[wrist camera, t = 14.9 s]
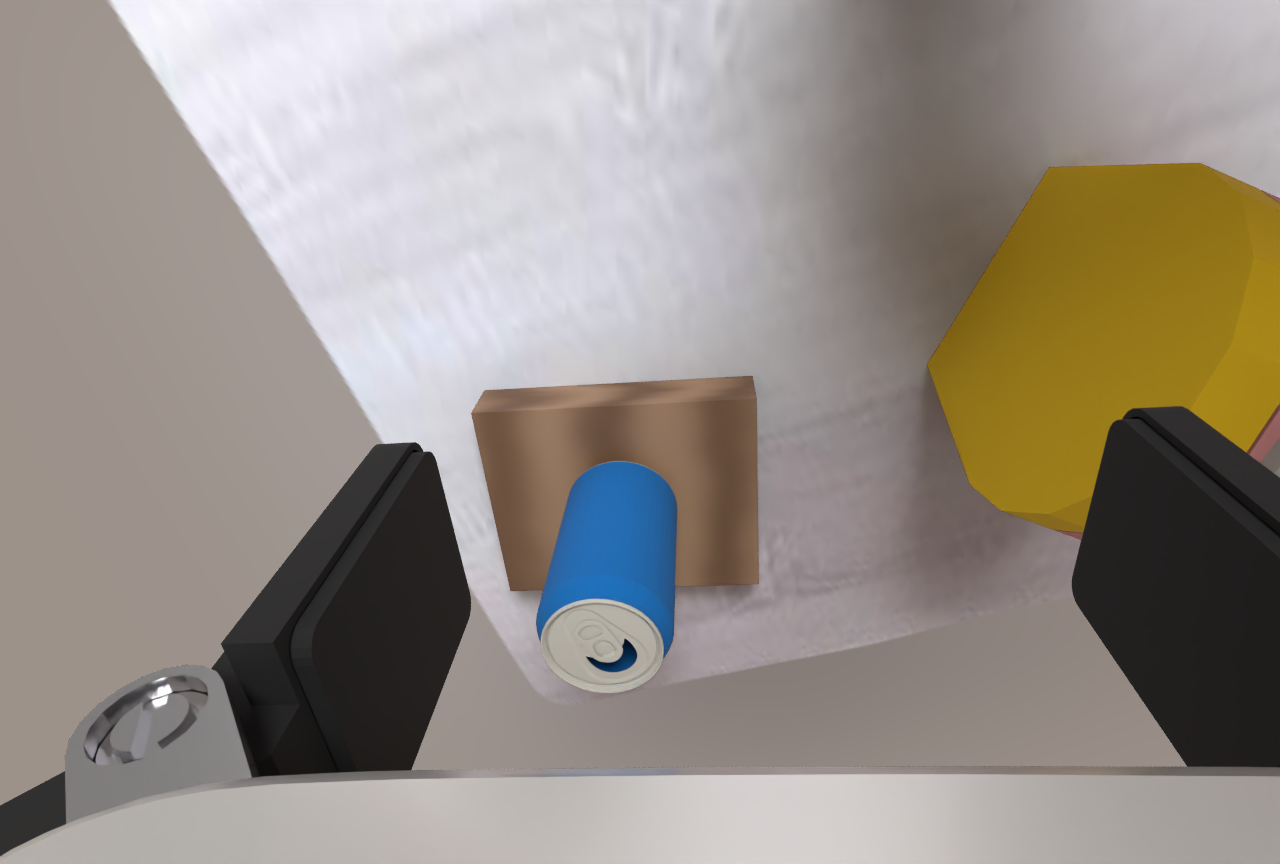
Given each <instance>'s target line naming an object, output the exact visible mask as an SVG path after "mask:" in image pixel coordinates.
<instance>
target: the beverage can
mask: <svg viewBox="0 0 1280 864" xmlns="http://www.w3.org/2000/svg"><path fill="white" fill-rule="evenodd" d="M676 538H677V501H676V498H675V495H674V493H673V491H672V489H671V487H670V486H669V484H668V483H667V482H666V481H665V479H664V478H663V477H661V476H660V475H659V474H658V473H656V472H655V471H653V470H652V469H650V468H648V467H646V466H643V465H641V464H637V463H633V462H627V461H612V462H606V463H602V464H599V465H596V466H594V467H592V468H590V469H589V470H587V471H585V472H584V473H583V474H582V475H581V476H580V477H579V478H578V479H577V480H576V481H575V483H574V484H573V486H572V488H571V490H570V492H569V496H568V500H567V504H566V507H565V511H564V515H563V519H562V522H561V526H560V530H559V534H558V537H557V541H556V545H555V549H554V552H553V556H552V560H551V564H550V567H549V571H548V575H547V579H546V582H545V586H544V590H543V594H542V597H541V601H540V605H539V609H538V613H537V619H536V626H537V633H538V636H539V640H540V644H541V651H542V655H543V657H544V660H545V662H546V663H547V665H548V666H549V668H550V669H551V670H552V671H553V672H554V673H555V674H556V675H557V676H558V677H560V678H561V679H562V680H564V681H565V682H567V683H569V684H571V685H573V686H575V687H577V688H580V689H583V690H587V691H591V692H597V693H618V692H624V691H628V690H631V689H634V688H637V687H639V686H641V685H643V684H644V683H646V682H647V681H649V680H650V679H651V678H652V677H653V676H654V675H655V674H656V672H657V671H658V669H659V668H660V666H661V663H662V660H663V658H664V657H665V656H666V654H667V652H668V651H669V649H670V646H671V644H672V641H673V636H674V608H675V573H676Z"/></svg>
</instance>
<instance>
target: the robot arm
mask: <svg viewBox="0 0 1280 864" xmlns="http://www.w3.org/2000/svg"><path fill="white" fill-rule="evenodd" d="M1072 591H1073V596H1074V598H1075V601H1076V603H1077V605H1078V606H1079V608H1080V610H1081V611H1082V612H1083V614H1084V616H1085V617H1086V618H1087V620H1088V621H1089V623H1090V624H1091V626H1092V627H1093V629H1094V630H1095V632H1096V633H1097V635H1098V636H1099V638H1100V639H1101V640H1102V642H1103V643H1104V645H1105V646H1106V648H1107V649H1108V651H1109V652H1110V654H1111V655H1112V657H1113V658H1114V660H1115V661H1116V662H1117V664H1118V665H1119V667H1120V668H1121V670H1122V671H1123V673H1124V674H1125V676H1126V677H1127V678H1128V680H1129V682H1130V683H1131V684H1132V686H1133V687H1134V689H1135V690H1136V692H1137V693H1138V694H1139V696H1140V698H1141V699H1142V701H1143V702H1144V704H1145V705H1146V706H1147V708H1148V709H1149V711H1150V712H1151V714H1152V715H1153V717H1154V718H1155V720H1156V721H1157V722H1158V724H1159V725H1160V727H1161V728H1162V730H1163V731H1164V733H1165V734H1166V736H1167V737H1168V739H1169V740H1170V742H1171V743H1172V745H1173V746H1174V748H1175V749H1176V750H1177V752H1178V753H1179V755H1180V756H1181V758H1182V759H1183V761H1184V762H1185V764H1186V765H1187V767H1085V766H1080V767H1078V766H1077V767H1076V766H1074V767H1073V766H1067V767H1066V766H1059V767H1058V766H1055V767H1054V766H1052V767H1051V766H1048V767H1047V766H933V767H932V766H907V767H906V766H900V767H899V766H895V767H894V766H891V767H889V766H886V767H671V768H670V767H666V768H665V767H661V768H553V769H552V768H551V769H550V768H549V769H458V770H457V769H456V770H411V769H412V767H413V764H414V761H415V759H416V756H417V753H418V751H419V748H420V746H421V743H422V740H423V738H424V735H425V732H426V730H427V727H428V724H429V722H430V719H431V717H432V714H433V712H434V709H435V706H436V704H437V701H438V698H439V696H440V693H441V691H442V688H443V685H444V683H445V680H446V678H447V675H448V672H449V669H450V667H451V664H452V662H453V659H454V657H455V654H456V651H457V649H458V646H459V644H460V641H461V638H462V635H463V633H464V630H465V628H466V625H467V623H468V620H469V616H470V611H471V597H470V591H469V588H468V584H467V580H466V576H465V572H464V568H463V564H462V560H461V556H460V552H459V548H458V544H457V541H456V537H455V533H454V529H453V525H452V521H451V517H450V513H449V509H448V505H447V501H446V498H445V494H444V490H443V486H442V482H441V478H440V474H439V470H438V466H437V462H436V459H435V457H434V455H433V454H432V453H431V452H423V450H422V448H421V446H420V445H419V444H417V443H416V442H415V443H394V444H378V445H376V446H374V447H373V448H372V450H371V451H370V452H369V454H368V455H367V456H366V457H365V459H364V460H363V461H362V463H361V464H360V465H359V466H358V468H357V469H356V470H355V472H354V473H353V474H352V476H351V477H350V478H349V479H348V481H347V482H346V483H345V484H344V486H343V487H342V488H341V490H340V491H339V492H338V494H337V495H336V496H335V497H334V499H333V500H332V502H330V504H329V505H328V506H327V508H326V509H325V510H324V512H323V513H322V514H321V515H320V517H319V518H318V519H317V521H316V522H315V523H314V525H313V526H312V527H311V528H310V530H309V531H308V532H307V534H306V535H305V536H304V537H303V539H302V540H301V541H300V543H299V544H298V545H297V546H296V548H295V549H294V550H293V552H292V553H291V554H290V555H289V557H288V558H287V559H286V561H285V562H284V563H283V564H282V566H281V567H280V568H279V570H278V571H277V572H276V573H275V575H274V576H273V577H272V579H271V580H270V581H269V582H268V584H267V585H266V586H265V588H264V589H263V590H262V591H261V593H260V594H259V595H258V597H257V598H256V599H255V600H254V602H253V603H252V604H251V606H250V607H249V608H248V610H247V611H246V612H245V613H244V615H243V616H242V618H241V619H240V620H239V621H238V622H237V624H236V625H235V626H234V628H233V629H232V630H231V632H230V633H229V634H228V635H227V637H226V638H225V639H224V640H223V642H222V643H221V645H222V647H223V649H224V653H223V654H222V655H221V657H220V658H219V659H218V661H217V662H216V663H215V665H214V666H213V667H212V669H210V668H208V667H205V666H200V665H181V666H176V667H170V668H165V669H162V670H159V671H156V672H154V673H151V674H148V675H146V676H142V677H140V678H139V679H137V680H135V681H133V682H131V683H129V684H127V685H125V686H124V687H122V688H120V689H118V690H117V691H115V692H114V693H113V694H111V695H110V696H109V697H107V698H106V699H104V700H103V701H102V702H100V703H99V704H98V705H97V706H96V707H95V708H94V709H93V710H92V711H91V712H90V713H89V714H88V715H87V716H86V717H85V718H84V719H83V720H82V721H81V722H80V723H79V725H78V726H77V728H76V730H75V731H74V733H73V734H72V736H71V738H70V739H69V741H68V745H67V749H66V754H65V772H63V773H61V774H59V775H57V776H55V777H53V778H51V779H50V780H48V781H46V782H44V783H42V784H40V785H38V786H36V787H34V788H32V789H31V790H29V791H27V792H25V793H23V794H21V795H19V796H17V797H16V798H14V799H12V800H10V801H8V802H6V803H4V804H2V805H1V806H0V864H1280V477H1278V476H1277V475H1276V474H1274V473H1273V472H1272V471H1270V470H1269V469H1268V468H1266V467H1265V466H1264V465H1262V464H1261V463H1260V462H1258V461H1257V460H1256V459H1254V458H1253V457H1252V456H1250V455H1249V454H1248V453H1246V452H1245V451H1244V450H1242V449H1241V448H1239V447H1238V446H1237V445H1235V444H1234V443H1233V442H1231V441H1230V440H1229V439H1227V438H1226V437H1225V436H1223V435H1222V434H1221V433H1219V432H1218V431H1217V430H1215V429H1214V428H1213V427H1211V426H1210V425H1209V424H1207V423H1206V422H1205V421H1203V420H1202V419H1201V418H1199V417H1198V416H1197V415H1195V414H1194V413H1193V412H1191V411H1190V410H1189V409H1187V408H1185V407H1182V406H1171V407H1150V408H1132V409H1131V410H1129V411H1127V413H1126V414H1125V415H1124V417H1123V419H1122V420H1116V421H1114V422H1113V423H1112V425H1111V426H1110V428H1109V431H1108V435H1107V439H1106V443H1105V447H1104V451H1103V455H1102V459H1101V463H1100V467H1099V471H1098V475H1097V479H1096V483H1095V487H1094V491H1093V495H1092V499H1091V503H1090V508H1089V512H1088V516H1087V520H1086V524H1085V528H1084V532H1083V536H1082V540H1081V544H1080V548H1079V552H1078V556H1077V560H1076V564H1075V568H1074V572H1073V576H1072Z"/></svg>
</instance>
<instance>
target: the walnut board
mask: <svg viewBox="0 0 1280 864" xmlns="http://www.w3.org/2000/svg"><path fill="white" fill-rule="evenodd" d="M471 414H472V419H473V423H474V428H475V432H476V437H477V441H478V446H479V450H480V455H481V459H482V464H483V468H484V473H485V478H486V482H487V487H488V491H489V496H490V500H491V505H492V509H493V514H494V518H495V523H496V527H497V532H498V536H499V541H500V545H501V550H502V554H503V559H504V564H505V568H506V573H507V577H508V582H509V586H510V591H526V590H544V586H545V582H546V579H547V575H548V571H549V567H550V564H551V560H552V556H553V552H554V549H555V545H556V541H557V537H558V534H559V530H560V526H561V522H562V519H563V515H564V511H565V507H566V504H567V500H568V496H569V492H570V490H571V488H572V486H573V484H574V483H575V481H576V480H577V479H578V478H579V477H580V476H581V475H582V474H583V473H584V472H585V471H587V470H589V469H590V468H592V467H594V466H596V465H599V464H602V463H606V462H612V461H627V462H633V463H637V464H641V465H643V466H646V467H648V468H650V469H652V470H653V471H655V472H656V473H658V474H659V475H660V476H661V477H663V478H664V479H665V481H666V482H667V483H668V484H669V486H670V487H671V489H672V491H673V493H674V495H675V498H676V501H677V538H676V573H675V586H711V585H748V584H759V558H758V478H757V399H756V393H755V388H754V382H753V377H752V376H744V377H725V378H707V379H689V380H670V381H652V382H633V383H615V384H596V385H578V386H559V387H541V388H523V389H504V390H486V391H484V392H483V394H482V396H481V397H480V399H479V401H478V403H477V404H476V406H475V408H474V409H473V411H472V413H471Z"/></svg>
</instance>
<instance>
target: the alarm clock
mask: <svg viewBox="0 0 1280 864" xmlns="http://www.w3.org/2000/svg"><path fill="white" fill-rule="evenodd" d="M927 366H928V368H929V371H930V374H931V377H932V380H933V382H934V385H935V388H936V391H937V394H938V396H939V399H940V402H941V405H942V408H943V411H944V413H945V416H946V419H947V422H948V425H949V427H950V430H951V433H952V436H953V439H954V441H955V444H956V447H957V450H958V453H959V456H960V458H961V461H962V464H963V467H964V470H965V472H966V475H967V478H968V481H969V484H970V485H971V486H972V487H974V488H975V489H976V490H977V491H978V492H979V493H981V494H982V495H983V496H984V497H985V498H986V499H988V500H989V501H990V502H991V503H992V504H993V505H995V506H996V507H997V508H998V509H999V510H1001V511H1003V512H1006V513H1009V514H1012V515H1014V516H1017V517H1020V518H1023V519H1025V520H1028V521H1031V522H1034V523H1036V524H1039V525H1042V526H1045V527H1047V528H1050V529H1053V530H1056V531H1058V532H1061V533H1064V534H1067V535H1069V536H1072V537H1075V538H1078V539H1080V540H1082V536H1083V532H1084V528H1085V524H1086V520H1087V516H1088V512H1089V508H1090V503H1091V499H1092V495H1093V491H1094V487H1095V483H1096V479H1097V475H1098V471H1099V467H1100V463H1101V459H1102V455H1103V451H1104V447H1105V443H1106V439H1107V435H1108V431H1109V428H1110V426H1111V425H1112V423H1113V422H1114V421H1116V420H1122V419H1123V417H1124V415H1125V414H1126V413H1127V411H1129V410H1131V409H1132V408H1150V407H1171V406H1182V407H1185V408H1187V409H1189V410H1190V411H1191V412H1193V413H1194V414H1195V415H1197V416H1198V417H1199V418H1201V419H1202V420H1203V421H1205V422H1206V423H1207V424H1209V425H1210V426H1211V427H1213V428H1214V429H1215V430H1217V431H1218V432H1219V433H1221V434H1222V435H1223V436H1225V437H1226V438H1227V439H1229V440H1230V441H1231V442H1233V443H1234V444H1235V445H1237V446H1238V447H1239V448H1241V449H1242V450H1244V451H1245V452H1246V453H1248V454H1249V455H1250V456H1252V457H1253V458H1254V459H1256V460H1257V461H1258V462H1260V463H1261V464H1262V465H1264V466H1265V467H1266V468H1268V469H1269V470H1270V471H1272V472H1273V473H1274V474H1276V475H1277V476H1278V477H1280V198H1278V197H1275V196H1273V195H1271V194H1269V193H1266V192H1264V191H1262V190H1259V189H1257V188H1255V187H1253V186H1251V185H1248V184H1246V183H1244V182H1242V181H1239V180H1237V179H1235V178H1233V177H1230V176H1228V175H1226V174H1223V173H1221V172H1219V171H1217V170H1214V169H1212V168H1210V167H1208V166H1205V165H1203V164H1201V163H1180V164H1145V165H1110V166H1076V167H1049V169H1048V170H1047V172H1046V174H1045V175H1044V177H1043V178H1042V180H1041V182H1040V183H1039V185H1038V186H1037V188H1036V190H1035V191H1034V193H1033V195H1032V196H1031V198H1030V199H1029V201H1028V203H1027V204H1026V206H1025V207H1024V209H1023V211H1022V212H1021V214H1020V216H1019V217H1018V219H1017V220H1016V222H1015V224H1014V225H1013V227H1012V228H1011V230H1010V232H1009V233H1008V235H1007V237H1006V238H1005V240H1004V241H1003V243H1002V245H1001V246H1000V248H999V249H998V251H997V253H996V254H995V256H994V258H993V259H992V261H991V262H990V264H989V266H988V267H987V269H986V270H985V272H984V274H983V275H982V277H981V279H980V280H979V282H978V283H977V285H976V287H975V288H974V290H973V291H972V293H971V295H970V296H969V298H968V300H967V301H966V303H965V304H964V306H963V308H962V309H961V311H960V312H959V314H958V316H957V317H956V319H955V321H954V322H953V324H952V325H951V327H950V329H949V330H948V332H947V333H946V335H945V337H944V338H943V340H942V342H941V343H940V345H939V346H938V348H937V350H936V351H935V353H934V354H933V356H932V358H931V359H930V361H929V363H928V364H927Z"/></svg>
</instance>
